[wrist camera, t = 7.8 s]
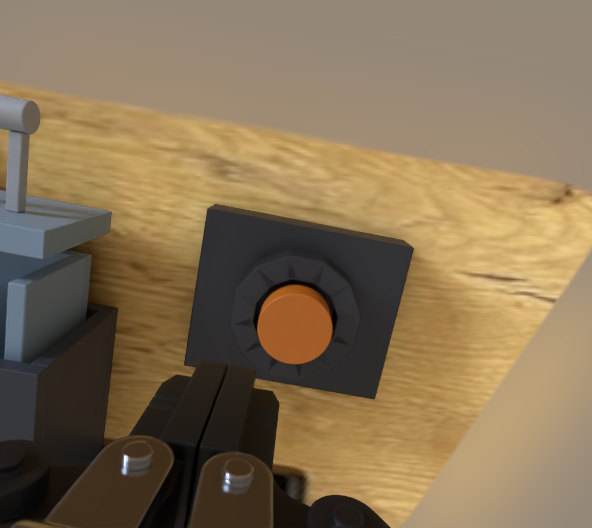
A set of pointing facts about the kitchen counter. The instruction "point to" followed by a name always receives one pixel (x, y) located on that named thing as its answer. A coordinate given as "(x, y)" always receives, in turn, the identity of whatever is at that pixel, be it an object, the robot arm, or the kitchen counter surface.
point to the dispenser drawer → (39, 250)
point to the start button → (295, 324)
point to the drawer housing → (62, 391)
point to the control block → (305, 271)
